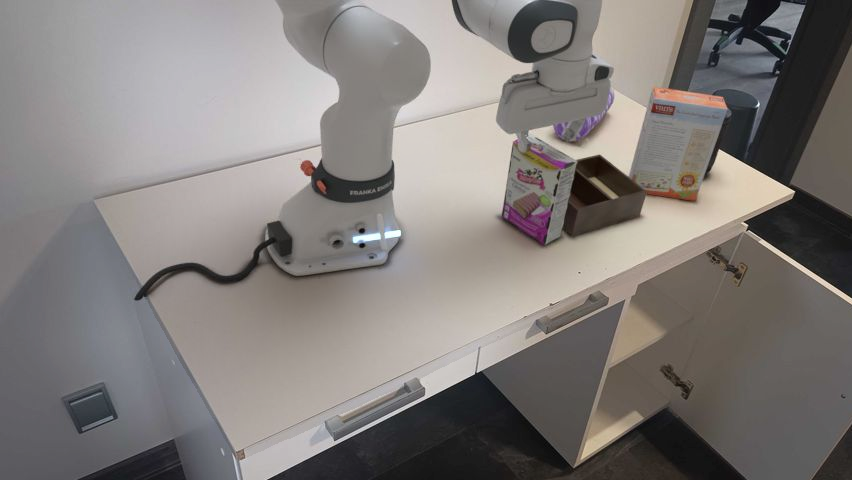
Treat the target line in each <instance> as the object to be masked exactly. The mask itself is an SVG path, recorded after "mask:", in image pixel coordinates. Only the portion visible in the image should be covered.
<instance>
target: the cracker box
mask: <svg viewBox="0 0 852 480" xmlns="http://www.w3.org/2000/svg"><path fill="white" fill-rule="evenodd" d="M727 108H728V105H727V104H726V101H725V98H724V97H723V96H719V95H712V94H706V93H700V92H692V91H686V90H679V89H673V88H668V87H667V88H665V87H661V86H652V87H651V92H650V95H649V99H648V103H647V106H646V110H645V113H644V118H643V121H642V126H641V129H640V132H639V137H638V140H637V143H636V148H635V152H634V155H633V158H632V162H631V165H630V170H629V174H628V177H629V178H630V179H632V180H633V181H634V182H635V183H637V184H638V185H639V186H641V187H642V188H643V189H644V190H646V191H647V194H646V195H653V196H659V197H666V198H672V199H679V200H686V201H692V202H695V201H696V200H697V197H698V194H699V192H700V189H701V186H702V183H703V180H704V179H705V178H704V175H705V172H706V169H707V166H708V164H709V161H710V158H711V155H712V152H713V149H714V147H715V144H716V141H717V138H718V135H719V132H720V129H721V126H722V124H723V121H724V118H725V115H726V112H727V110H728V109H727Z"/></svg>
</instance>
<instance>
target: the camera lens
mask: <svg viewBox="0 0 852 480" xmlns="http://www.w3.org/2000/svg"><path fill="white" fill-rule="evenodd" d="M727 109H728V110H727V112H726V115H725V118H724V121H723V124H722V126H721V129H720V132H719V135H718V138H717V141H716V144H715V147H714V149H713V152H712V155H711V158H710V161H709V164H708V166H707V169H706V172H705V175H704V178H703V179H705V178H707V176H708V174H709V172H711V171H712V169H713V166H714V164H715V163H716V159H717V157H718V153H719V150H720V148H721V145H722V143H723V139H724V138H725V135H726V134H727V130H728V128H729V125H730V123H731V120H732V119H731V118H732V117H731V116H732V111H731V109H730V108H728V107H727Z"/></svg>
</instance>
